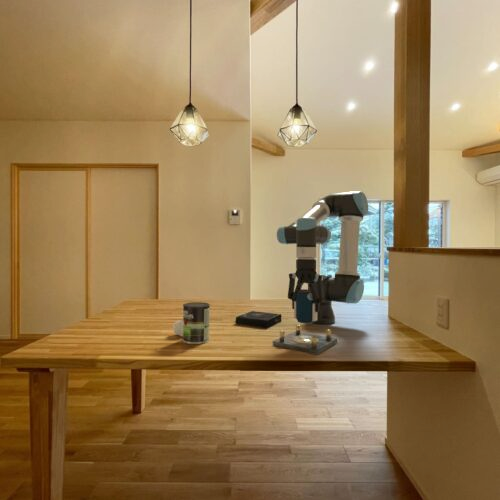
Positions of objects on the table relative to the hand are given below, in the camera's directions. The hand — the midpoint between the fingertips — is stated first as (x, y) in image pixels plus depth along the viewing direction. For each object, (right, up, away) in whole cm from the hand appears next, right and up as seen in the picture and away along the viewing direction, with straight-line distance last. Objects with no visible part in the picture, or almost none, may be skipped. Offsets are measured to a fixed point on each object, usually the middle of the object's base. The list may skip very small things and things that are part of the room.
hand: (305, 319), depth 120 cm
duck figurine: (-47, -9, +12) cm, 49 cm away
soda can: (0, -1, 0) cm, 1 cm away
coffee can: (-42, -9, +4) cm, 43 cm away
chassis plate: (0, -9, 0) cm, 9 cm away
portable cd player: (-17, -10, +35) cm, 40 cm away
